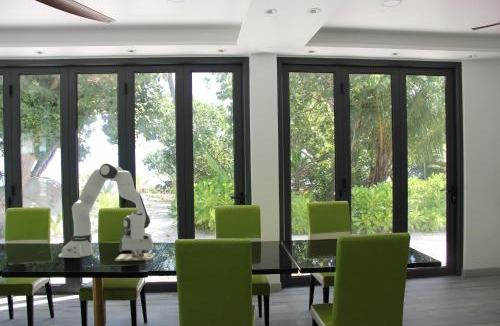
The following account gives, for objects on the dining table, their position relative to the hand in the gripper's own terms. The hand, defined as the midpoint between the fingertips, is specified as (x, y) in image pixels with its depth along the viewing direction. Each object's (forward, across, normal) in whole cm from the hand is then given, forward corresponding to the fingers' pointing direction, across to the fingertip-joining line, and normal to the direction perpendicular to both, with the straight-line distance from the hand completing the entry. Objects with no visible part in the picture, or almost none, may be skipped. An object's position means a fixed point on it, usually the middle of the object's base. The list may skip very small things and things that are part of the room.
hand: (137, 256), depth 255 cm
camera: (+3, -8, +26) cm, 27 cm away
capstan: (+1, 0, +4) cm, 4 cm away
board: (+2, -2, +5) cm, 6 cm away
